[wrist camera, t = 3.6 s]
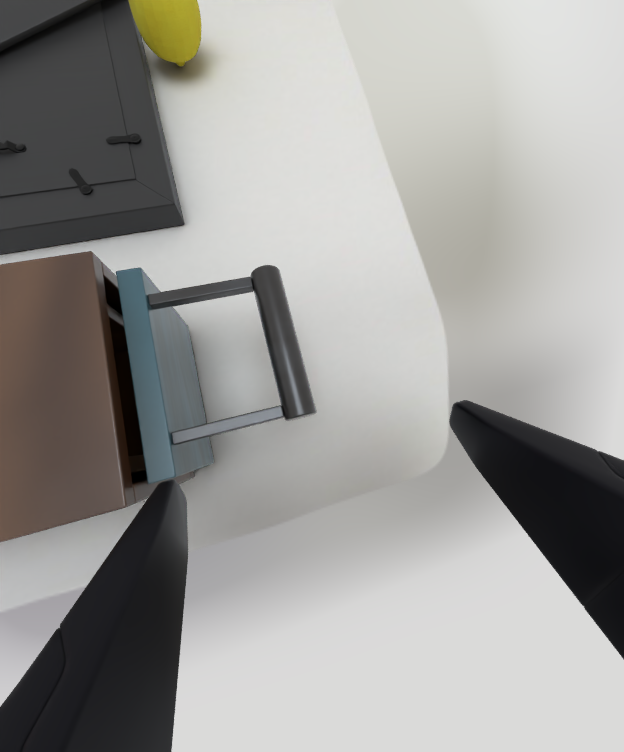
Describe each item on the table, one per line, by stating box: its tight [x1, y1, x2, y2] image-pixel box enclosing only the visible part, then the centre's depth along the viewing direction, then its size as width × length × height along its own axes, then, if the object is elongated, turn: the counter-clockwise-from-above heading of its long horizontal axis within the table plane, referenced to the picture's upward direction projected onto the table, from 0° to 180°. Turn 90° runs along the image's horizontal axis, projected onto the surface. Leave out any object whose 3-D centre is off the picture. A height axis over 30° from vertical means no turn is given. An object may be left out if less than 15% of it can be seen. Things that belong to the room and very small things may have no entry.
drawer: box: [107, 265, 316, 484], centre depth 17 cm, size 19×10×8 cm, turn 105°
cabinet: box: [0, 251, 194, 542], centre depth 16 cm, size 14×12×10 cm
